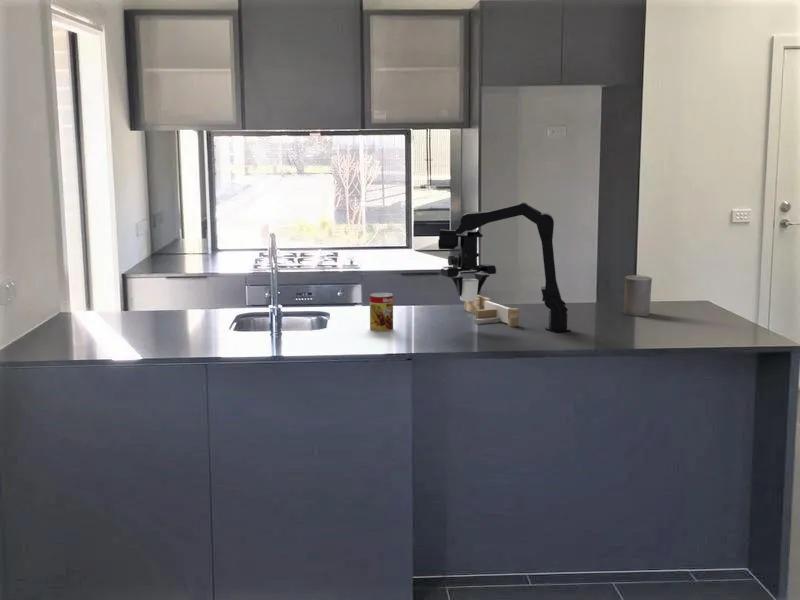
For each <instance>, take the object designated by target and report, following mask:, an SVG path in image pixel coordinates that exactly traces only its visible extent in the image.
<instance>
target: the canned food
mask: <svg viewBox="0 0 800 600" xmlns="http://www.w3.org/2000/svg"><path fill="white" fill-rule="evenodd" d="M369 330H370V331H373V332H389V331H393V330H394V294H393V293H391V292H372V293H370V294H369Z"/></svg>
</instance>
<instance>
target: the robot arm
mask: <svg viewBox="0 0 800 600" xmlns="http://www.w3.org/2000/svg"><path fill="white" fill-rule="evenodd" d="M519 216H523V217H525V218H526V219H528V220H529V221H531V222H532V223H534V224H535V225H536V228H537V231H538V235H539V238H540V241H541V249H542V259H543V269H544V277H545V278H544V279H545V280H544V281H545V282H544V286H541V287H540V290H541V295H542V296H541V302H544V305H545V307H546V308H548V309H549V311H548V313H549V314H548V326H547V327H544V329H545V330H547V331H550V332H553V333H560V332H561V333H564V332H571V330H572V329H571V328H568V305H567V303H566V302H565V301H564V300H563V299H562V295H561V293H560V292H561V291H560V288H559V285H558V281H557V275H556V264H555V256H554V246H553V245H554V244H553V239H554V226H555V220H554V218H553V216H552V214H550V213H548V212H541V211H539V210H537V209H536V208H534V207H532V206H531V205H529V204H528V203H527V202H519V203H518V204H513V205H509V206H505V207H500V208H496V209H493V210H492V209H491V210H489V211H470V212H469V211H468V212H467V213H464V214H463V215H462V217H461V218H460V222H459V223H460V225H459V226H457V227H456V228H455V229H456V230H455V229H441V228H440V230H439V234H438V239H437V240H438V250H441V251H442V250H452V251H453V250H456V248H457V247H459V246H460V252H458V254H457V255H458V256H457V257H456V256H455V255H449V256H447V264H448V266H442V267H441V269H440V275H441V276H444V277H447V278H450V279H451V280H452V281H453V283H454V286H455V288H456V292H457V294H458V295H457V296H459V297H460V296H461V294H462V282H463V279H464V277H463V276H461V275H462V274H474V277H475V279H478V280H479V282H478V291H477V295H479V294H480V291H481V289H482V288H483V285H484V284H485V282H486V280H487V279H488V277H490V275H494V274H495V275H496V274H497V267H496V266H495V265H493V264H490V263H482V264H479V265H478V257H480V253H479V252H478V239H479V238H482V237H483V236H484V233H482V232H481V231H480V229H478V228H480V227H482V226H485V225H486V224H490V223H493V222H497V221H502V220H505V219H511V218H515V217H519ZM476 229H477V230H476ZM474 230H476V231H474ZM466 231H467V233H465V232H466ZM463 233H465V234H463Z"/></svg>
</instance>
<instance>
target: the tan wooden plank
mask: <svg viewBox="0 0 800 600" xmlns="http://www.w3.org/2000/svg"><path fill="white" fill-rule="evenodd" d="M484 301H490V302H492V299H491V298H490V297H485V296H484V295H479V294H478V295H477V300H476V301H463V310H464V311H466V312H469V313H472V314H473V315H475V310H482V309H484ZM508 308H509V309H508V324H507V326H509V327H511V328H512V327H513V328H514V327H519V325H520V320H519V319H520V308H517V307H508ZM495 323H500V321H499V318H498V317H494V318H483V319H475V318H474V322H473V324H475V325H482V324H483V325H484V324H495Z"/></svg>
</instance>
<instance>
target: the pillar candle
mask: <svg viewBox="0 0 800 600" xmlns="http://www.w3.org/2000/svg"><path fill="white" fill-rule="evenodd" d="M652 280H653V278H652V277H650V276H648V275H640V274H639V273H637V275H636V274H635V275H634V274H633V275H632V274H631V275H626V276H625V277H624V293H623V308H622V309H623V311H622V313H623V314H624V315H627V316H630V317H631V316H632V317H633V316H634V317H647V316H649V315H650V314H651V313H650V312H651V300H652V299H651V296H652V295H651V294H652Z"/></svg>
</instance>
